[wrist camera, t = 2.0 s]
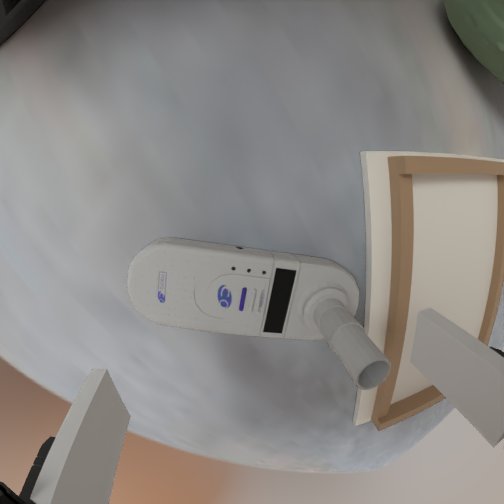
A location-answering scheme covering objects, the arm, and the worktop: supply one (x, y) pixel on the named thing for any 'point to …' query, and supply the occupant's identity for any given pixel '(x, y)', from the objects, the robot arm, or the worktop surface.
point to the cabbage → (480, 30)
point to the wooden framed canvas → (427, 263)
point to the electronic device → (255, 298)
